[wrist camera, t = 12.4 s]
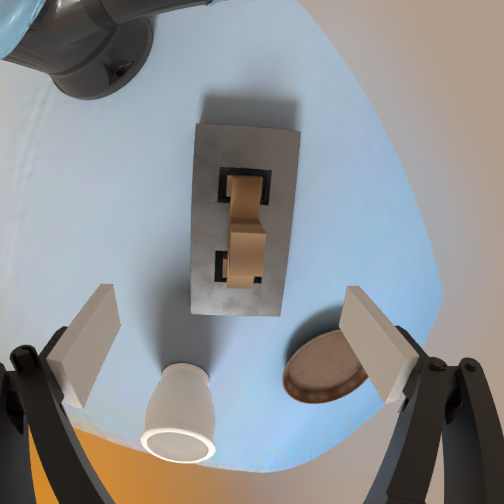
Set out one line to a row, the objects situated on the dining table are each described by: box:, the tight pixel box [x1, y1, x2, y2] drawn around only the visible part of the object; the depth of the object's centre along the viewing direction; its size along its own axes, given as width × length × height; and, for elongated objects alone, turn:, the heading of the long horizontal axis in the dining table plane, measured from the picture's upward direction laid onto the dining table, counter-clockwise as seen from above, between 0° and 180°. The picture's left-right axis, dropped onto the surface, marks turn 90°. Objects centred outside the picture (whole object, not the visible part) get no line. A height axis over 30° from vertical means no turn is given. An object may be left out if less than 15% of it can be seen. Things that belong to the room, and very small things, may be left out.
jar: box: [141, 363, 215, 463], centre depth 38 cm, size 11×10×15 cm
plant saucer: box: [282, 329, 369, 404], centre depth 46 cm, size 18×18×3 cm
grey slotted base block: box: [191, 124, 301, 316], centre depth 36 cm, size 24×12×4 cm, turn 176°
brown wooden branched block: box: [222, 173, 266, 289], centre depth 31 cm, size 12×4×13 cm, turn 176°
